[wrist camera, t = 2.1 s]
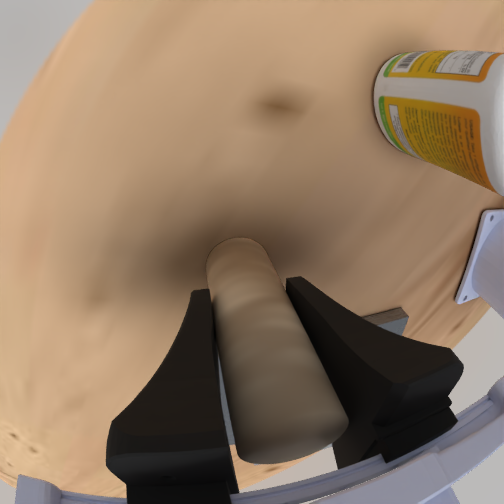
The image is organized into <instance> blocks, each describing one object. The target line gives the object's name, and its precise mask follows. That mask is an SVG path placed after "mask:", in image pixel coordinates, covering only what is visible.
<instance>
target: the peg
mask: <svg viewBox="0 0 504 504" xmlns="http://www.w3.org/2000/svg"><path fill="white" fill-rule="evenodd" d="M206 274H207V282H208V289H210V295H211V302H212V310H213V318H214V328H215V336H216V342H217V348H218V354H219V360H220V366H221V372H222V378H223V383H224V389H225V394H226V400H227V405H228V410H229V415H230V420H231V425H232V430H233V435H234V440H235V445H236V450H237V454H238V456H239V458H240V459H242V460H244V461H246V462H249V463H254V464H276V463H282V462H287V461H292V460H296V459H299V458H302V457H305V456H308V455H310V454H312V453H315V452H317V451H319V450H321V449H323V448H325V447H326V446H328V445H330V444H331V443H332V442H334V441H335V440H336V439H338V438H339V437H340V436H341V435H342V434H343V433H344V432H345V430H346V429H347V427H348V424H349V420H348V417H347V415H346V413H345V411H344V409H343V407H342V405H341V403H340V401H339V398H338V396H337V394H336V392H335V390H334V388H333V386H332V384H331V382H330V380H329V378H328V376H327V374H326V372H325V370H324V368H323V366H322V364H321V361H320V359H319V357H318V355H317V353H316V351H315V349H314V347H313V345H312V343H311V341H310V339H309V337H308V335H307V333H306V331H305V329H304V327H303V325H302V323H301V321H300V319H299V317H298V315H297V313H296V311H295V309H294V307H293V305H292V303H291V301H290V299H289V297H288V295H287V293H286V291H285V289H284V287H283V285H282V283H281V281H280V279H279V277H278V275H277V273H276V271H275V269H274V267H273V265H272V263H271V261H270V259H269V257H268V255H267V253H266V251H265V249H264V248H263V247H262V246H261V245H260V244H259V243H257V242H256V241H254V240H252V239H249V238H242V237H238V238H231V239H228V240H225V241H223V242H221V243H220V244H218V245H217V246H216V247H215V248H214V249H213V250H212V251H211V252H210V254H209V256H208V258H207V261H206Z"/></svg>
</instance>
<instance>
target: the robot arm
mask: <svg viewBox="0 0 504 504" xmlns="http://www.w3.org/2000/svg"><path fill="white" fill-rule="evenodd" d="M286 293H287V295H288V297H289V299H290V301H291V303H292V305H293V307H294V309H295V311H296V313H297V315H298V317H299V319H300V321H301V323H302V325H303V327H304V329H305V331H306V333H307V335H308V337H309V339H310V341H311V343H312V345H313V347H314V349H315V351H316V353H317V355H318V357H319V359H320V361H321V364H322V366H323V368H324V370H325V372H326V374H327V376H328V378H329V380H330V382H331V384H332V386H333V388H334V390H335V392H336V394H337V396H338V398H339V401H340V403H341V405H342V407H343V409H344V411H345V413H346V415H347V417H348V420H349V424H348V427H347V429H346V430H345V432H344V433H343V434H342V435H341V436H340V437H339V438H338V439H336V440H335V441H334V442H332V447H333V450H334V455H335V459H336V463H337V467H338V470H336V471H333V472H330V473H326V474H323V475H320V476H316V477H313V478H309V479H306V480H302V481H298V482H294V483H290V484H286V485H281V486H277V487H272V488H267V489H262V490H257V491H251V492H244V493H239V489H238V484H237V480H236V475H235V470H234V466H233V461H232V456H231V451H230V446H229V441H228V436H227V431H226V426H225V420H224V415H223V409H222V402H221V392H220V377H219V360H218V348H217V342H216V336H215V328H214V318H213V310H212V302H211V295H210V289H201V290H194V291H193V292H192V293H191V297H190V302H189V305H188V309H187V312H186V315H185V317H184V320H183V322H182V325H181V327H180V330H179V332H178V334H177V336H176V338H175V340H174V342H173V344H172V346H171V348H170V350H169V352H168V354H167V355H166V357H165V359H164V360H163V362H162V364H161V365H160V367H159V368H158V370H157V371H156V372H155V374H154V375H153V377H152V378H151V380H150V381H149V382H148V383H147V385H146V386H145V387H144V388H143V389H142V391H141V392H140V393H139V394H138V395H137V397H136V398H135V399H134V400H133V401H132V402H131V403H130V404H129V405H128V406H127V407H126V408H125V409H124V410H123V411H122V412H121V413H120V414H119V415H118V416H117V417H116V418H115V419H114V420H113V421H112V423H111V426H110V430H109V435H108V439H107V446H106V466H107V468H108V469H109V470H110V471H111V472H112V473H113V474H114V475H115V476H117V477H118V478H119V479H120V480H122V481H123V482H124V483H125V484H126V488H127V498H116V497H105V496H96V495H88V494H81V493H75V492H69V491H63V490H60V489H59V488H58V487H57V486H55V485H54V484H52V483H49V482H47V481H44V480H41V479H36V478H32V477H28V476H25V475H21V474H20V475H18V480H17V488H16V498H15V504H299V503H303V502H307V501H311V500H314V499H317V498H321V497H324V496H327V495H330V496H327V497H324V498H321V499H319V500H317V501H314V502H312V503H310V504H460V503H459V501H458V499H457V497H456V495H455V493H454V491H453V490H452V488H451V485H452V484H454V483H455V482H456V481H458V480H459V479H461V478H462V477H463V476H465V475H466V474H467V473H469V472H470V471H472V470H473V469H474V468H475V467H477V466H478V465H479V464H481V463H482V462H483V461H484V460H485V459H487V458H488V457H489V456H490V455H491V454H493V453H494V452H495V451H496V450H497V449H498V448H499V447H501V446H502V445H503V444H504V376H503V377H502V378H500V379H499V380H498V381H497V382H496V383H495V384H494V385H493V386H492V387H491V389H490V390H489V392H488V394H487V395H485V396H484V397H482V398H481V399H480V400H478V401H477V402H475V403H474V404H472V405H471V406H469V407H468V408H466V409H465V410H463V411H461V412H460V413H458V414H457V415H454V413H453V412H452V411H451V409H450V408H449V406H450V405H451V404H452V401H451V400H450V398H449V397H448V395H449V394H450V392H451V391H452V389H453V388H454V387H455V385H456V384H457V382H458V381H459V379H460V377H461V375H462V373H463V369H464V366H463V364H462V362H461V361H460V360H459V358H458V357H457V356H456V355H455V354H454V352H453V351H452V350H451V349H450V348H447V347H442V346H437V345H432V344H427V343H423V342H420V341H416V340H413V339H410V338H407V337H404V336H401V335H398V334H396V333H393V332H391V331H388V330H386V329H383V328H381V327H379V326H377V325H375V324H373V323H371V322H369V321H367V320H365V319H363V318H361V317H360V316H358V315H356V314H354V313H353V312H351V311H350V310H348V309H346V308H345V307H343V306H342V305H340V304H339V303H337V302H336V301H334V300H333V299H331V298H330V297H329V296H327V295H326V294H324V293H323V292H322V291H320V290H319V289H318V288H316V287H315V286H314V285H312V284H311V283H310V282H308V281H307V280H305V279H304V278H303V277H301V276H300V277H293V278H286ZM477 297H481V298H483V299H484V300H485V301H486V302H487V303H488V304H489V305H490V306H491V307H492V308H493V309H494V310H495V311H496V312H497V313H498V314H500V316H501V317H503V318H504V209H499V210H486V211H484V212H483V214H482V217H481V221H480V225H479V229H478V233H477V236H476V240H475V243H474V246H473V250H472V253H471V256H470V259H469V262H468V265H467V268H466V271H465V274H464V277H463V280H462V282H461V285H460V288H459V290H458V293H457V296H456V298H455V302H456V303H457V304H461V303H464V302H467V301H469V300H472V299H475V298H477ZM396 468H397V469H396ZM394 469H395V470H394ZM387 472H388V473H387ZM385 473H386V474H385ZM383 474H384V475H383ZM378 476H379V477H378ZM376 477H377V478H376ZM371 479H372V480H371ZM369 480H370V481H369ZM366 481H367V482H366ZM364 482H365V483H364ZM361 483H362V484H361ZM359 484H360V485H359ZM356 485H357V486H356ZM353 486H354V487H353ZM351 487H352V488H351ZM348 488H349V489H348ZM345 489H346V490H345ZM342 490H343V491H342ZM340 491H341V492H340ZM337 492H338V493H337ZM333 493H335V494H333ZM331 494H333V495H331Z"/></svg>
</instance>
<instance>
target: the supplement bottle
mask: <svg viewBox="0 0 504 504" xmlns="http://www.w3.org/2000/svg"><path fill="white" fill-rule="evenodd" d="M374 107H375V113H376V117H377V120H378V123H379V125H380V128H381V130H382V132H383V133H384V135H385V136H386V138H387V139H388V140H389V142H390V143H391V144H392V145H394V146H395V147H396V148H397V149H399V150H400V151H402V152H404V153H406V154H409V155H411V156H413V157H416V158H419V159H421V160H424V161H427V162H429V163H432V164H434V165H437V166H439V167H441V168H444V169H446V170H448V171H451V172H453V173H455V174H457V175H460V176H462V177H464V178H466V179H468V180H470V181H473V182H475V183H477V184H479V185H481V186H483V187H485V188H487V189H489V190H491V191H493V192H495V193H497V194H499V195H501V196H504V53H497V52H482V51H421V52H409V53H403V54H399V55H396V56H394V57H393V58H391V59H390V60H388V61H387V62H386V63H385V64H384V66H383V67H382V68H381V70H380V72H379V74H378V76H377V79H376V82H375V87H374Z"/></svg>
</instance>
